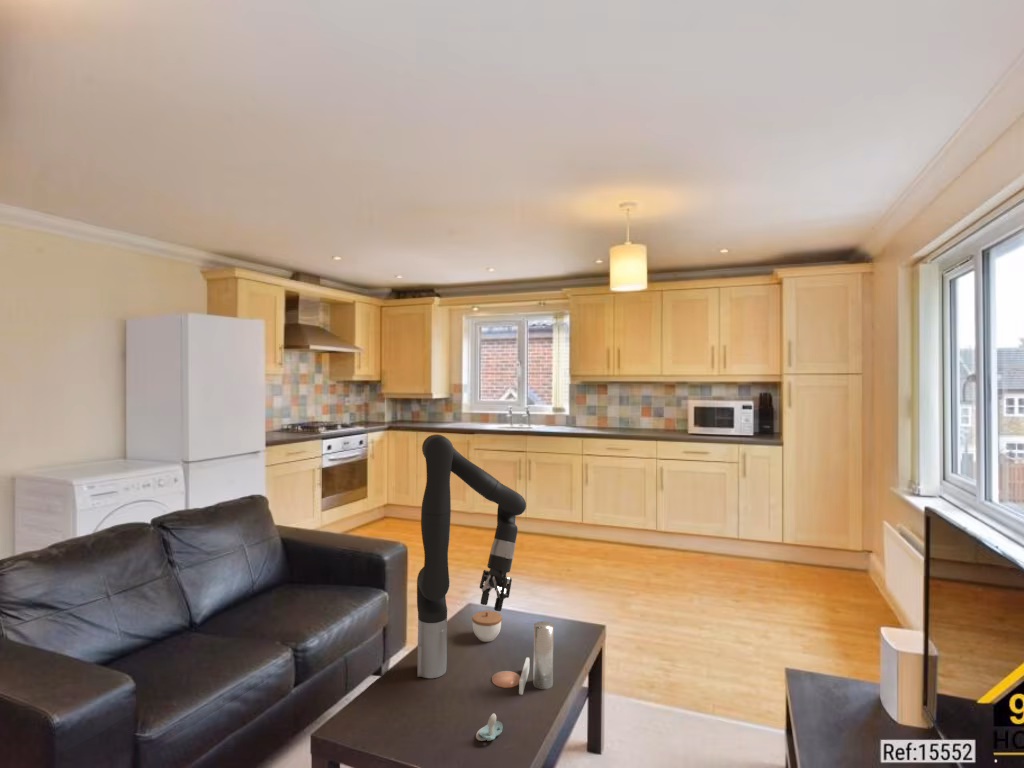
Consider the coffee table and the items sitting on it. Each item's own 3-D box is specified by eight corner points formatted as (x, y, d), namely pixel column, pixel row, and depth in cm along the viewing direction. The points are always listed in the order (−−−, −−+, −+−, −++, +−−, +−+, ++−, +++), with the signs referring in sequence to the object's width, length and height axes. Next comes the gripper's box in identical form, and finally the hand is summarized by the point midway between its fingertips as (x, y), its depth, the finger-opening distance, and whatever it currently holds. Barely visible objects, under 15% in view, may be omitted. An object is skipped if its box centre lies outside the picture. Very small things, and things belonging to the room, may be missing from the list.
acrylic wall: (522, 694, 161) (522, 681, 161) (519, 694, 161) (519, 680, 161) (529, 670, 175) (529, 657, 175) (526, 669, 175) (526, 657, 175)
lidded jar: (475, 629, 202) (475, 604, 202) (503, 632, 201) (503, 606, 201) (468, 643, 192) (469, 617, 192) (498, 646, 190) (499, 619, 190)
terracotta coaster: (493, 688, 164) (493, 687, 164) (490, 673, 173) (490, 672, 173) (523, 686, 165) (523, 685, 165) (517, 670, 174) (517, 669, 174)
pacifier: (470, 740, 141) (489, 748, 138) (470, 715, 141) (489, 723, 138) (487, 725, 147) (505, 732, 144) (486, 702, 147) (505, 708, 144)
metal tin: (535, 690, 163) (536, 630, 163) (531, 679, 169) (532, 621, 169) (554, 688, 164) (555, 629, 164) (550, 677, 170) (550, 620, 170)
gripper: (480, 550, 180) (469, 601, 176) (503, 556, 168) (492, 611, 164) (499, 554, 184) (488, 604, 179) (523, 560, 172) (512, 614, 167)
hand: (490, 607), depth 172 cm, fingers open, 8 cm apart
